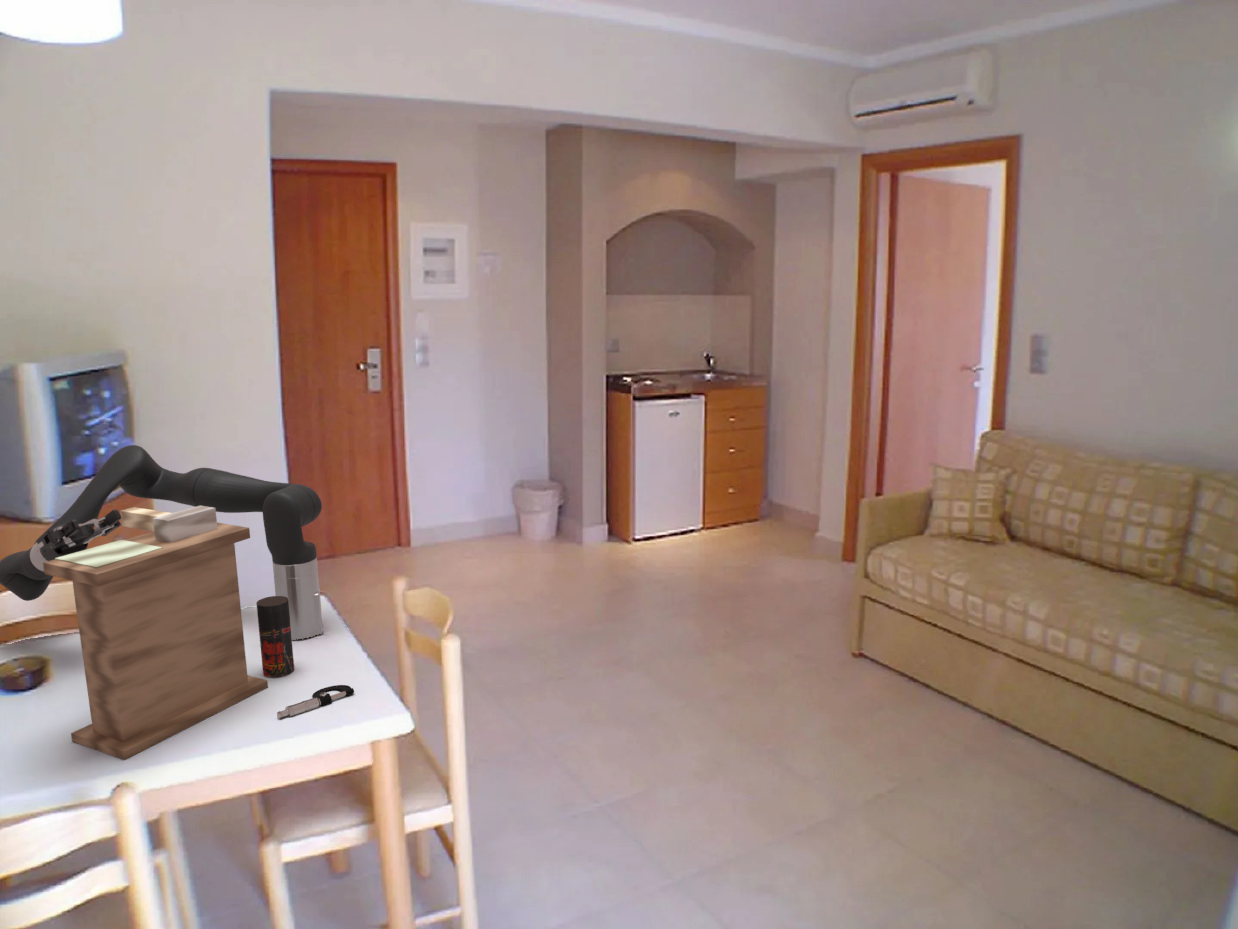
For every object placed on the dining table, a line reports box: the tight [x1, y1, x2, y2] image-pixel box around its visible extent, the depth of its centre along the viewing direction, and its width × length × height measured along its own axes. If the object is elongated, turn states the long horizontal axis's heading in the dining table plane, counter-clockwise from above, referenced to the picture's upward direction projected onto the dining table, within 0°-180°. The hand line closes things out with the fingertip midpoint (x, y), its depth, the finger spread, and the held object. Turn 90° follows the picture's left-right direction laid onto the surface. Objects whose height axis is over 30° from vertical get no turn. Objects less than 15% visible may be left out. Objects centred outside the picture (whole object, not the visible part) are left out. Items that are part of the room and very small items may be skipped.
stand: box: [43, 522, 269, 761], centre depth 164 cm, size 15×30×32 cm, turn 153°
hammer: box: [119, 506, 218, 543], centre depth 170 cm, size 18×10×4 cm, turn 64°
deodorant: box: [256, 595, 295, 679], centre depth 183 cm, size 6×6×15 cm
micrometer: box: [276, 684, 355, 720], centre depth 171 cm, size 15×7×2 cm, turn 132°
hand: (97, 518), depth 179 cm, fingers open, 8 cm apart
